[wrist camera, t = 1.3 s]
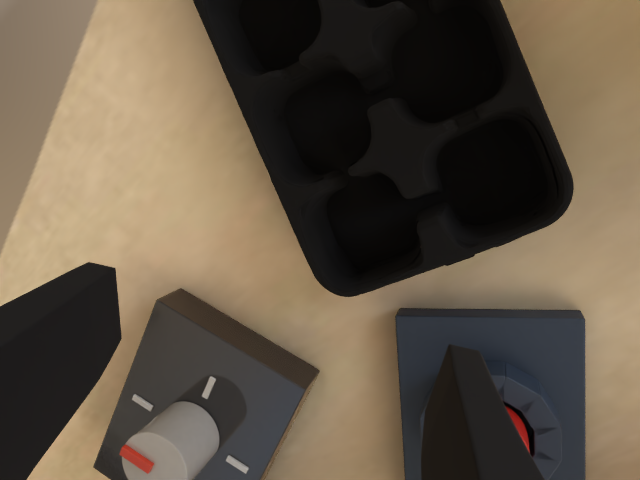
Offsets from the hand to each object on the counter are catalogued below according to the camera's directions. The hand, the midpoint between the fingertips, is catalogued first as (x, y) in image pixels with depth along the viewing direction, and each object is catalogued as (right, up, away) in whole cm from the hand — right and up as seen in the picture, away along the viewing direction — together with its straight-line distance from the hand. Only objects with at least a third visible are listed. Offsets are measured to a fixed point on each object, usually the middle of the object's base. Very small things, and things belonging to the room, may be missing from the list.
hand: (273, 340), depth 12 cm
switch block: (+10, -7, +17) cm, 21 cm away
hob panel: (-6, -9, +23) cm, 25 cm away
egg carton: (+2, +15, +16) cm, 22 cm away
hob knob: (-7, -9, +20) cm, 23 cm away
